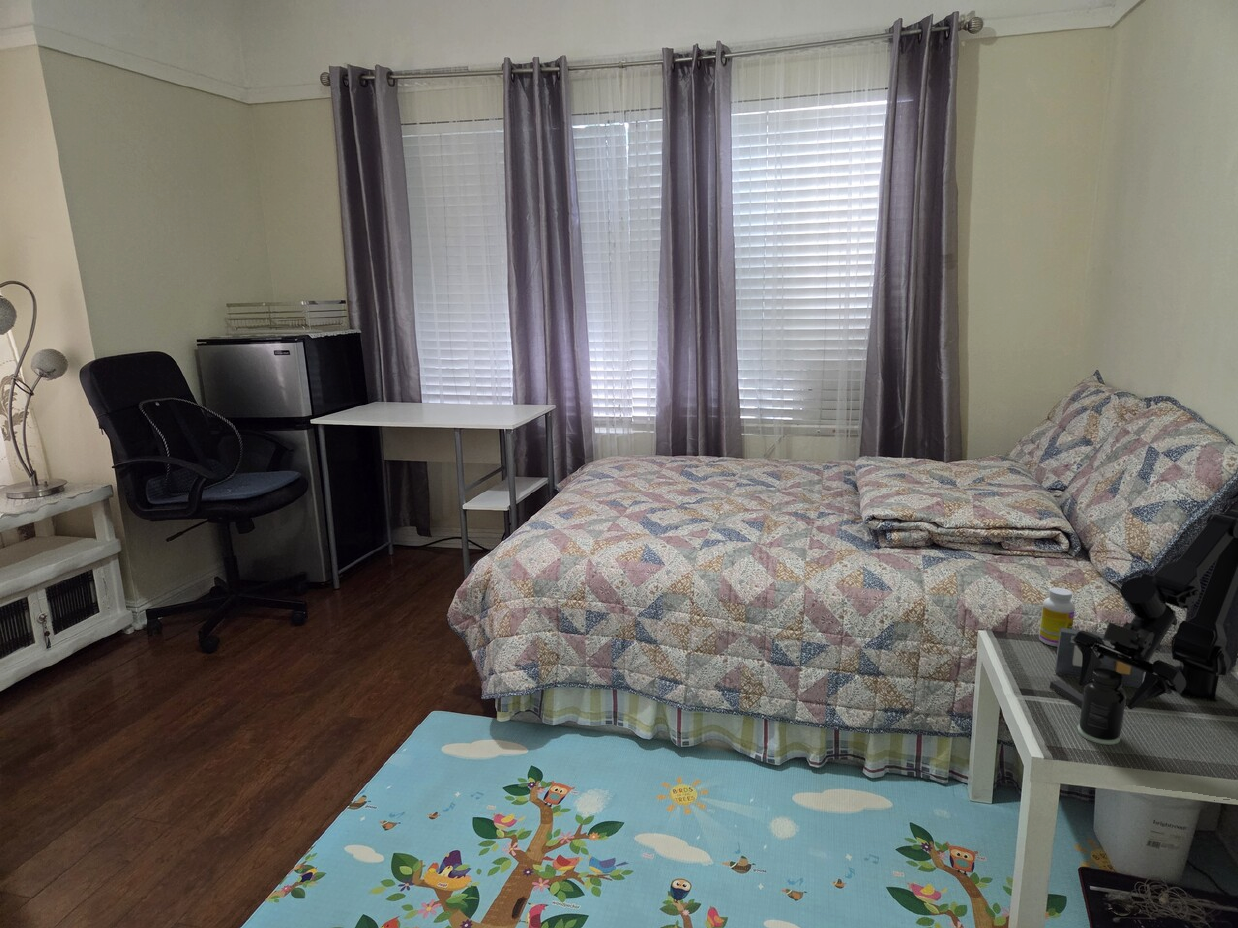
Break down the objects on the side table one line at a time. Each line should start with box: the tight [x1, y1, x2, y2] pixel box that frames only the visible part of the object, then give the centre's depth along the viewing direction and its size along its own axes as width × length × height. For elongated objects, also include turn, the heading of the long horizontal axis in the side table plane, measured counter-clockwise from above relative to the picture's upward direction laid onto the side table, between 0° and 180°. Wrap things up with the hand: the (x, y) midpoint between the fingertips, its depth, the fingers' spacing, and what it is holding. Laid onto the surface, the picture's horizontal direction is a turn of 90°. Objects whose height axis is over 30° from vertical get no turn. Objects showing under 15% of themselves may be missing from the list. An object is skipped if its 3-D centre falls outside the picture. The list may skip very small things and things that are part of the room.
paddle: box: [1072, 645, 1082, 667], centre depth 172 cm, size 2×1×4 cm, turn 67°
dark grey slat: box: [1049, 680, 1083, 708], centre depth 164 cm, size 14×2×2 cm, turn 15°
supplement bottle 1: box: [1038, 587, 1076, 648], centre depth 190 cm, size 7×7×13 cm
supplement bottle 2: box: [1079, 668, 1127, 740], centre depth 151 cm, size 7×7×12 cm
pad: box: [1077, 723, 1122, 746], centre depth 153 cm, size 7×7×1 cm
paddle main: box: [1115, 655, 1131, 675], centre depth 169 cm, size 2×1×4 cm, turn 66°
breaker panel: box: [1054, 627, 1145, 689], centre depth 172 cm, size 16×3×10 cm, turn 66°
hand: (1104, 696), depth 151 cm, fingers open, 9 cm apart
